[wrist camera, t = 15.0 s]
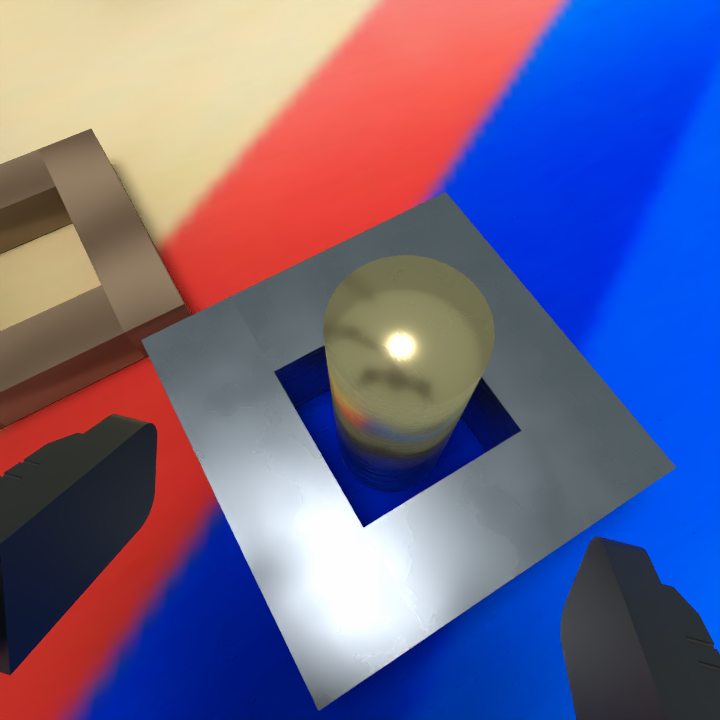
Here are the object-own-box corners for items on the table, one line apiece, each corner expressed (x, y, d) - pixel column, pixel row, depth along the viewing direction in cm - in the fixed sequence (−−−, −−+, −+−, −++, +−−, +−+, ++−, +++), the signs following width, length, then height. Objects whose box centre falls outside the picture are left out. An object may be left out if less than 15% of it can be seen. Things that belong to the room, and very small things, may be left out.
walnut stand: (-115, 257, 28) (-157, 225, 26) (111, 164, 31) (91, 128, 28) (-58, 457, 24) (-102, 440, 22) (199, 330, 26) (184, 303, 24)
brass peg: (319, 421, 24) (292, 300, 15) (405, 374, 25) (432, 231, 16) (372, 512, 23) (380, 440, 13) (461, 457, 24) (529, 353, 14)
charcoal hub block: (177, 384, 25) (141, 340, 21) (433, 253, 28) (445, 191, 24) (327, 690, 20) (318, 711, 16) (620, 492, 23) (676, 467, 19)
